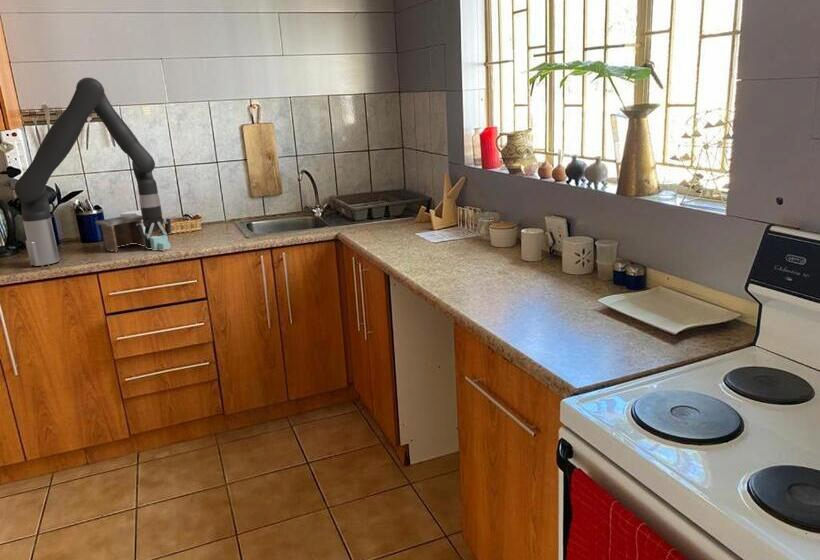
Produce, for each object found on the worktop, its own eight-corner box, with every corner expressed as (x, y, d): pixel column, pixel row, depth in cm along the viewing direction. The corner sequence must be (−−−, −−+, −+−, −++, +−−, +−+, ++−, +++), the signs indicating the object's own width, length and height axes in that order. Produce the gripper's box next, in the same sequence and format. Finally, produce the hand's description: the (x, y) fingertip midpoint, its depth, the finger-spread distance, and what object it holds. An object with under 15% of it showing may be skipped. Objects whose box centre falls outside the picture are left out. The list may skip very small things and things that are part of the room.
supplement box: (149, 238, 286) (145, 209, 282) (141, 242, 279) (136, 213, 275) (133, 239, 287) (128, 210, 283) (124, 243, 280) (119, 213, 276)
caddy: (174, 249, 262) (172, 236, 261) (160, 252, 258) (158, 239, 257) (159, 245, 270) (157, 233, 269) (145, 248, 266) (143, 236, 265)
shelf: (111, 253, 260) (106, 223, 257) (100, 250, 267) (95, 221, 263) (150, 245, 271) (145, 216, 268) (138, 242, 278) (133, 214, 275)
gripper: (137, 209, 253) (144, 251, 258) (171, 203, 263) (178, 243, 268) (128, 207, 258) (135, 249, 263) (162, 201, 268) (168, 241, 273)
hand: (157, 246), depth 265 cm, fingers closed on caddy, 6 cm apart
